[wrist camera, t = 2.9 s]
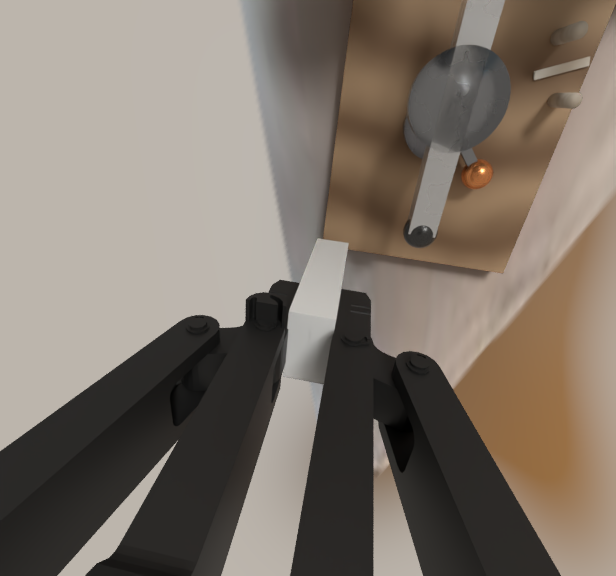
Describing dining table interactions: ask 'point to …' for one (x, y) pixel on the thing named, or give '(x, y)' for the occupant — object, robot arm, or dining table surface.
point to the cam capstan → (454, 115)
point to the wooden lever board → (495, 149)
